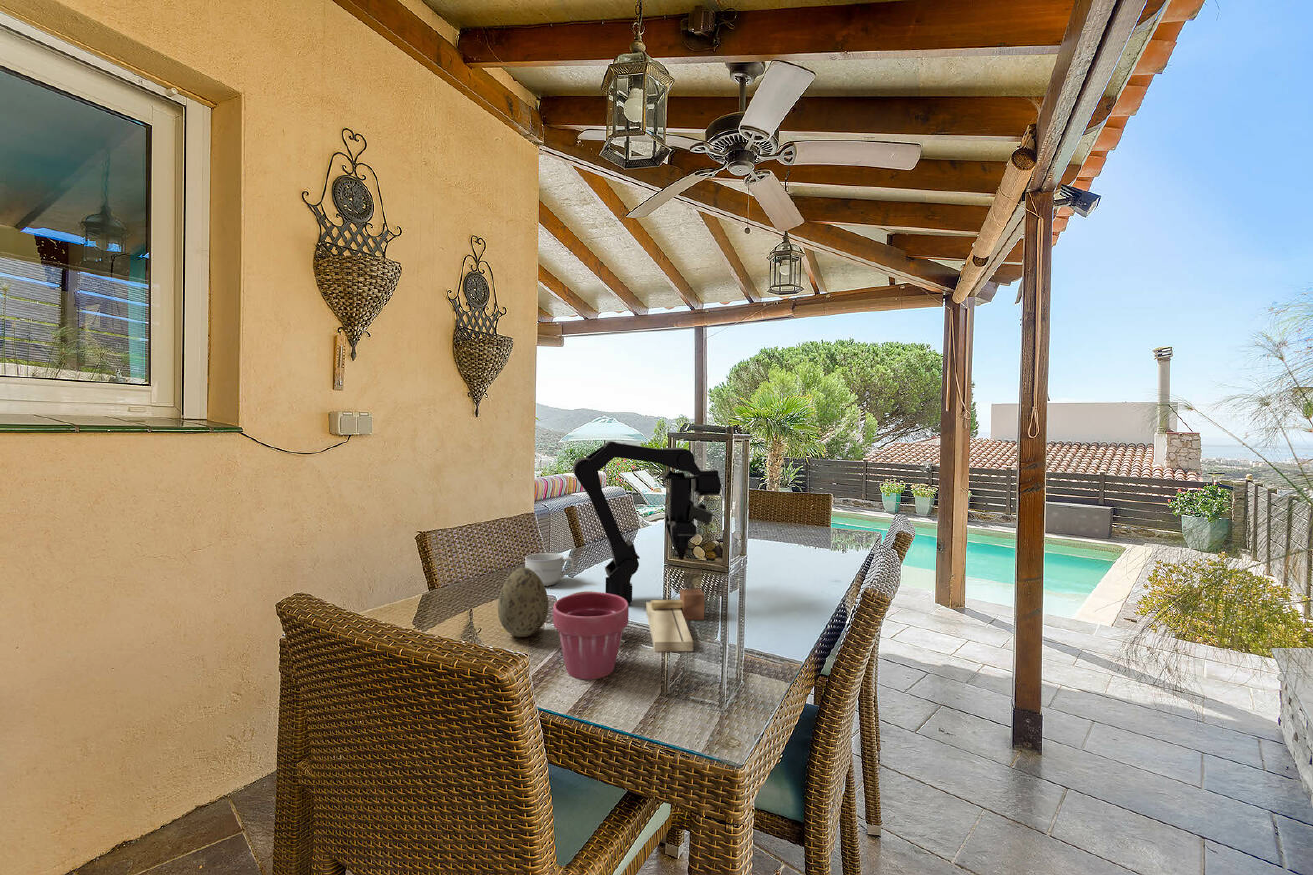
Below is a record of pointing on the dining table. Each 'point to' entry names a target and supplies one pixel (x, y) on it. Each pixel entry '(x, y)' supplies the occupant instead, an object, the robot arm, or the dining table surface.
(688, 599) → the wooden mallet
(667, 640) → the board
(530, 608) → the decorative egg
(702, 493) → the robot arm
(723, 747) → the dining table surface
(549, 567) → the teacup
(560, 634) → the plant pot
